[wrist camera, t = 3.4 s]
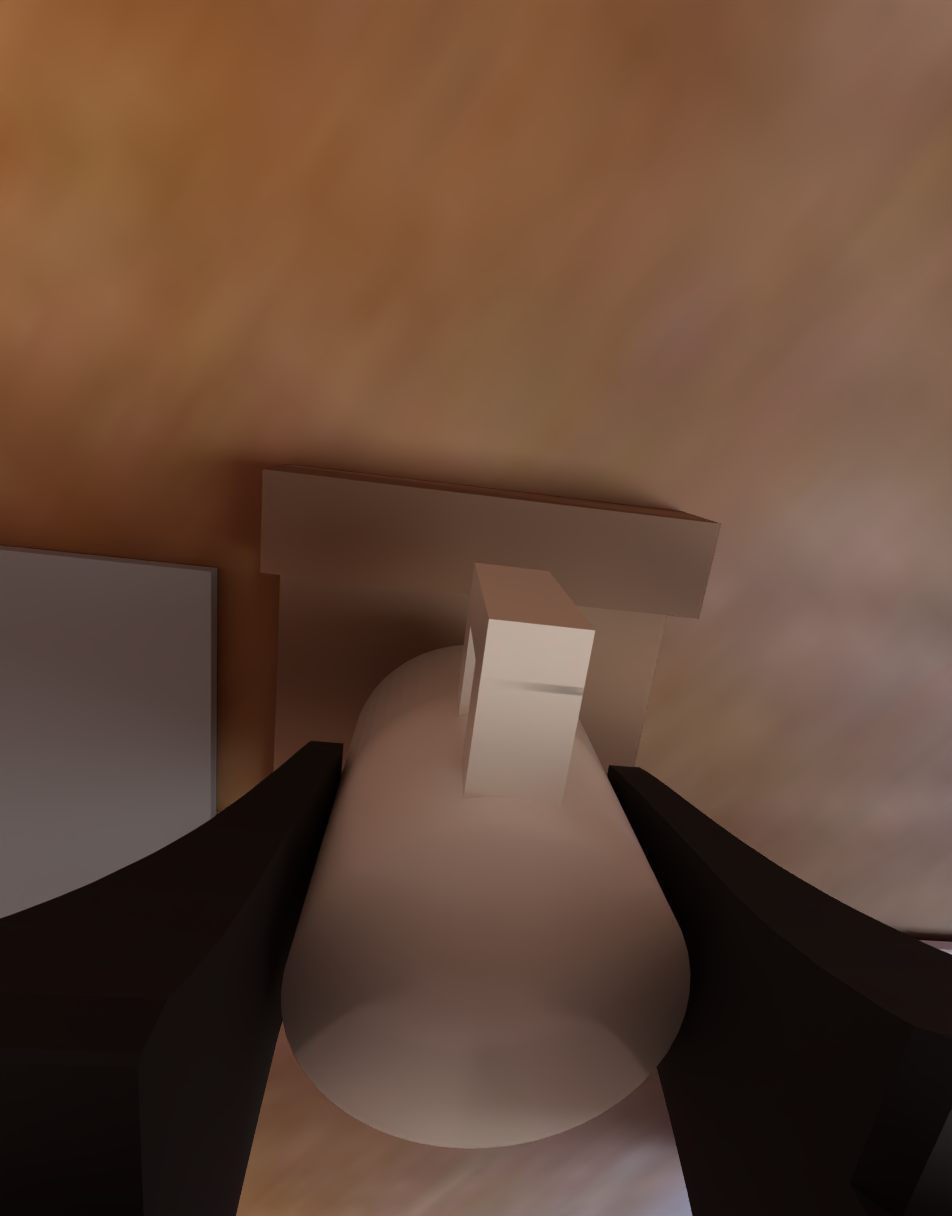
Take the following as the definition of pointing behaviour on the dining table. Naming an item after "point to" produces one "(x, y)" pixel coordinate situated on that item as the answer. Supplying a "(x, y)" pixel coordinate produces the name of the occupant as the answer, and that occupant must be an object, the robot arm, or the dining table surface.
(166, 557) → the dining table surface
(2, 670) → the grey mat
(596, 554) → the walnut cradle
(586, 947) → the cream jug
